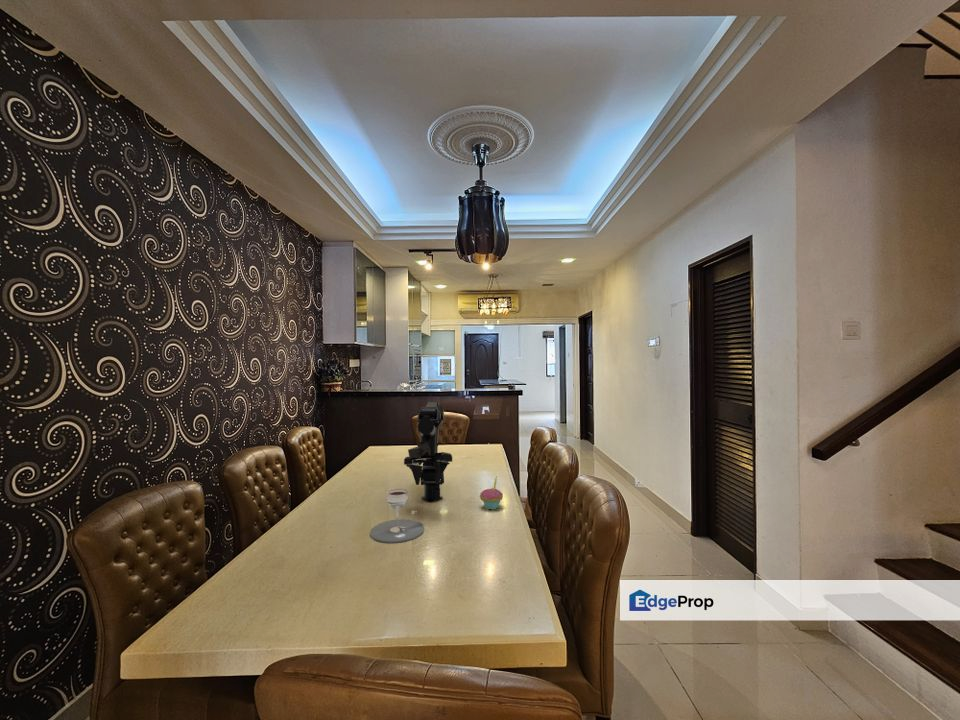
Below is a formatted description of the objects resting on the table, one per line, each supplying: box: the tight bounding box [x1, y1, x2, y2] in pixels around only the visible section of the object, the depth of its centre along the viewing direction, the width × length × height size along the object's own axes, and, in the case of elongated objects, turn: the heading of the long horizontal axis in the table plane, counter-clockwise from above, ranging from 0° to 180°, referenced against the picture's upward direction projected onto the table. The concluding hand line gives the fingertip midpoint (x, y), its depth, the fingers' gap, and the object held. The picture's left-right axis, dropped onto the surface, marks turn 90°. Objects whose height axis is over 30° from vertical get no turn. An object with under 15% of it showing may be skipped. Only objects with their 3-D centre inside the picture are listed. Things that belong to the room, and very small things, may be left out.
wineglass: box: [386, 488, 409, 532], centre depth 135 cm, size 7×7×12 cm
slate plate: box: [370, 518, 425, 544], centre depth 135 cm, size 17×17×1 cm
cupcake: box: [479, 476, 504, 510], centre depth 156 cm, size 9×8×12 cm
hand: (427, 484), depth 148 cm, fingers open, 9 cm apart
